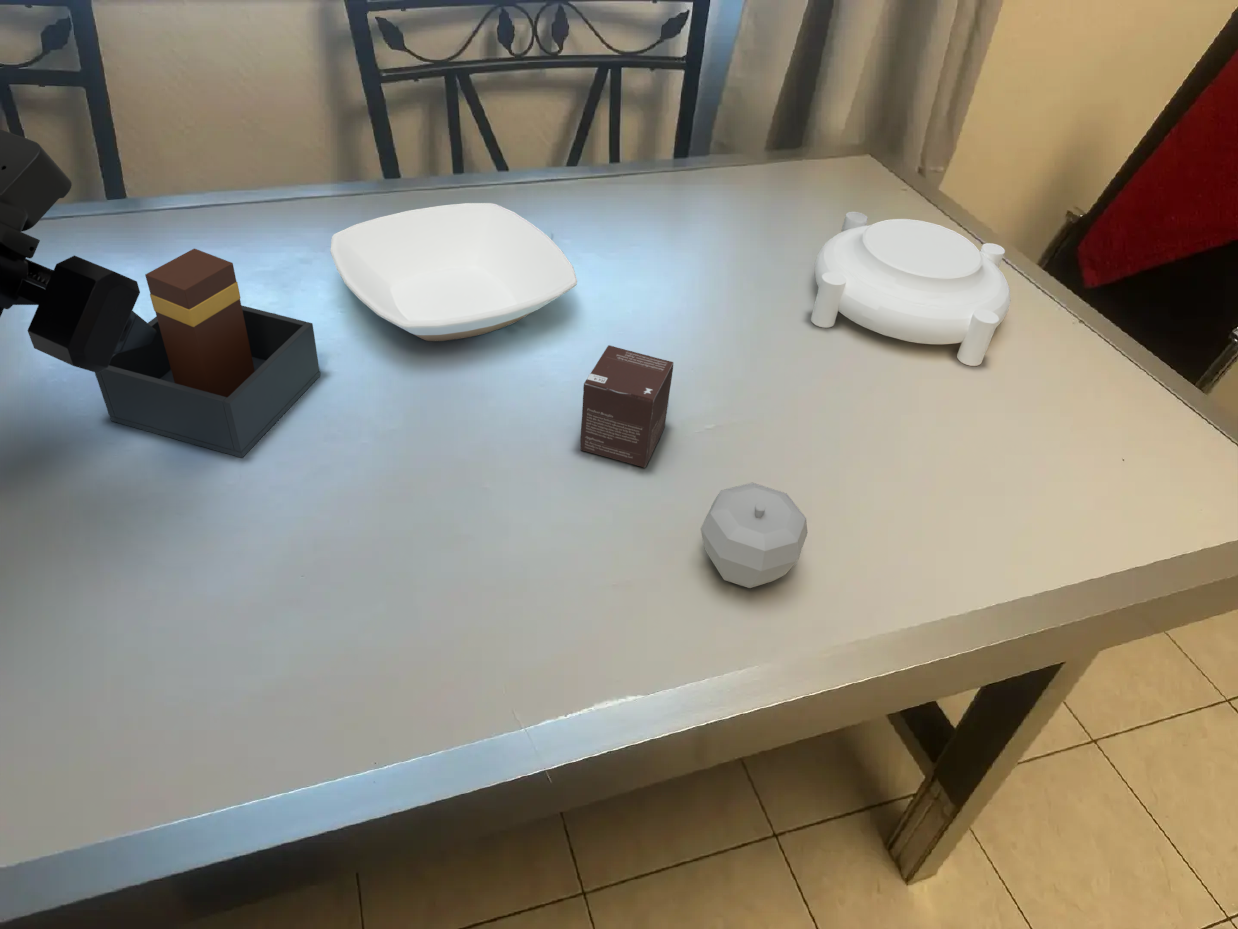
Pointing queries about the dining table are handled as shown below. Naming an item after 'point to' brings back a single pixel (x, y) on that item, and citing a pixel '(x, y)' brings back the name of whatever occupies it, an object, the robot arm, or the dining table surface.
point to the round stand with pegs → (912, 284)
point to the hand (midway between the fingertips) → (104, 316)
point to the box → (625, 405)
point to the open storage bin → (224, 424)
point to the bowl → (451, 269)
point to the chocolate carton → (202, 322)
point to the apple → (753, 534)
